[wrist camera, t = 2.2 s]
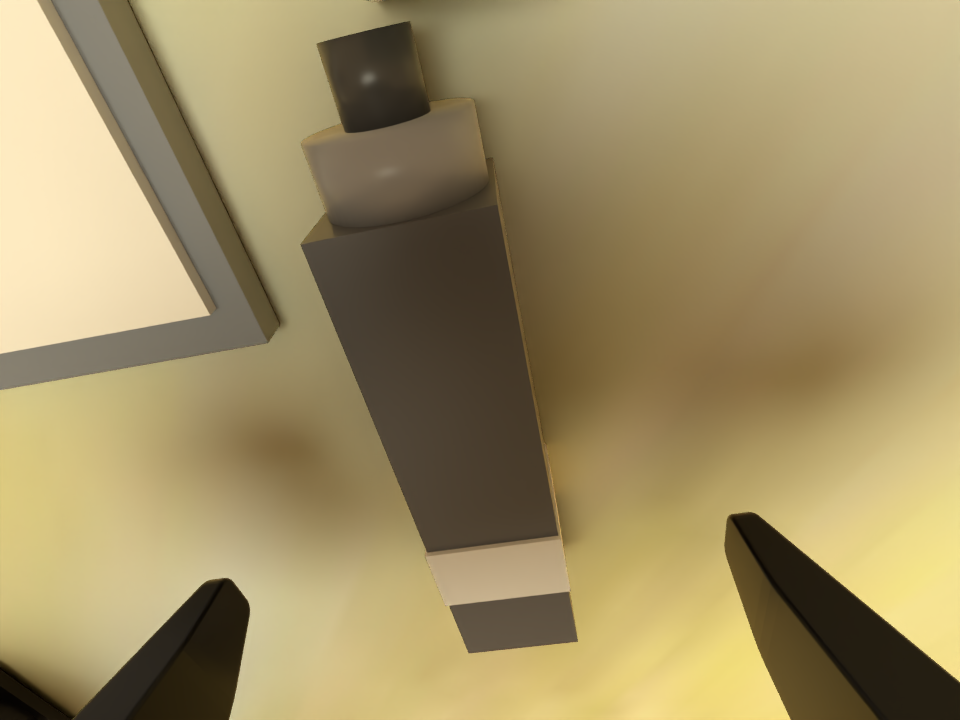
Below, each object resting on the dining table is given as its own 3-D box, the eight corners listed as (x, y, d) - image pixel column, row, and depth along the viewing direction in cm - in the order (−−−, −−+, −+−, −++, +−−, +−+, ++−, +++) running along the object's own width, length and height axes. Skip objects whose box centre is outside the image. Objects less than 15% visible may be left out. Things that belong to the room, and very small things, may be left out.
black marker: (564, 546, 16) (580, 645, 14) (468, 558, 17) (467, 657, 14) (469, 9, 9) (465, 5, 6) (293, 51, 9) (219, 65, 6)
